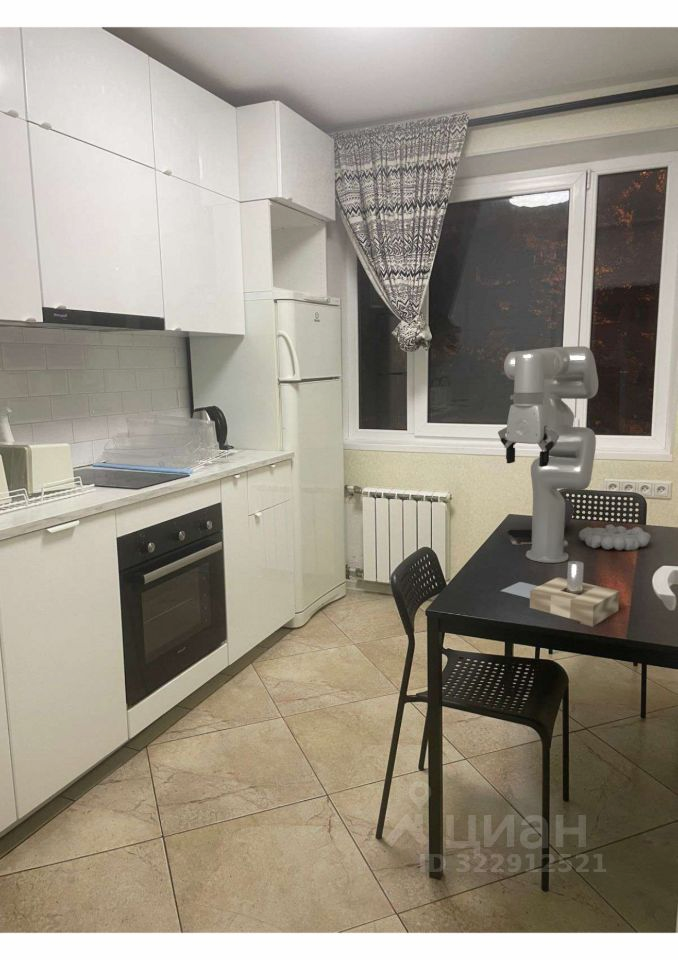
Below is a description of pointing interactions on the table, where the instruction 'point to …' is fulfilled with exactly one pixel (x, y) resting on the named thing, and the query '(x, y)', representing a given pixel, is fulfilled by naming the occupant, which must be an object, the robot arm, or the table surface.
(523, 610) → the table surface
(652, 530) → the table surface
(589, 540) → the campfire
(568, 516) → the bluetooth speaker
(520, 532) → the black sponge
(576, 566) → the peg
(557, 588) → the hole block
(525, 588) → the mat
